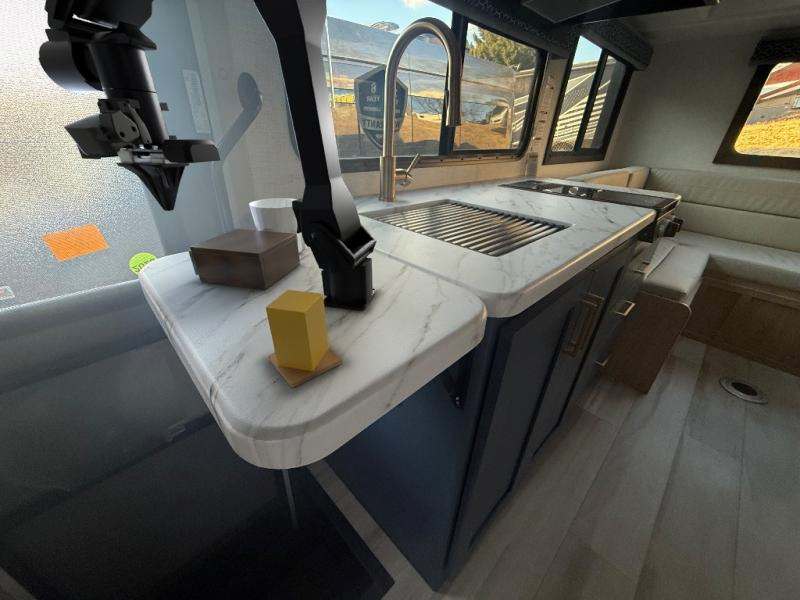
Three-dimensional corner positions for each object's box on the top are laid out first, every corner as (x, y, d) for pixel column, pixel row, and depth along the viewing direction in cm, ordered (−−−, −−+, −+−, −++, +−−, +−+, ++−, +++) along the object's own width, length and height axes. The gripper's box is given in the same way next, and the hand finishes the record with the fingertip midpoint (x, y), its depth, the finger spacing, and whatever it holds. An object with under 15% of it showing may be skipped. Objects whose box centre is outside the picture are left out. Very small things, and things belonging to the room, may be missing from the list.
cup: (273, 242, 71) (265, 197, 66) (316, 245, 70) (310, 199, 65) (249, 257, 62) (238, 206, 58) (296, 260, 61) (289, 209, 56)
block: (329, 348, 35) (323, 293, 32) (313, 371, 32) (304, 312, 29) (296, 343, 36) (287, 289, 33) (277, 365, 33) (265, 307, 29)
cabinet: (200, 282, 52) (189, 246, 49) (244, 259, 61) (237, 228, 58) (266, 290, 49) (258, 253, 47) (300, 265, 59) (296, 233, 56)
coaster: (316, 340, 38) (315, 335, 37) (342, 363, 34) (342, 358, 34) (268, 360, 34) (267, 355, 34) (292, 388, 30) (291, 383, 30)
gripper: (-1, 83, 36) (64, 218, 44) (129, 81, 33) (176, 227, 40) (99, 94, 46) (138, 203, 53) (208, 94, 43) (234, 210, 50)
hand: (169, 210), depth 49 cm, fingers closed
